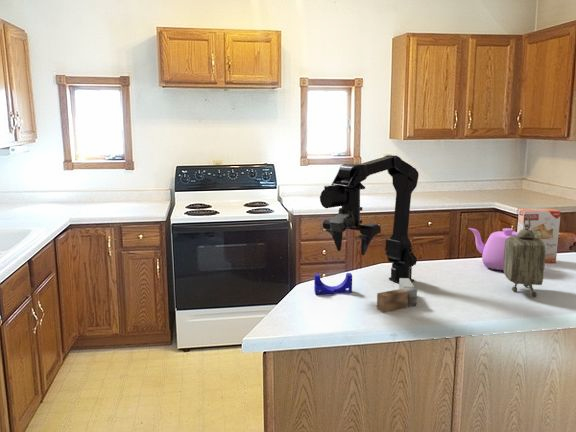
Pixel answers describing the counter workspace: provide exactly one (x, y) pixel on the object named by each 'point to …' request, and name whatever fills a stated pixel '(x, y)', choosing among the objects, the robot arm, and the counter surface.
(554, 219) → the cracker box
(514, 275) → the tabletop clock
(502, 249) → the teapot
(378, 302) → the hinge base
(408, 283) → the hinge leaf
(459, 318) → the counter surface
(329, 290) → the cable clip
